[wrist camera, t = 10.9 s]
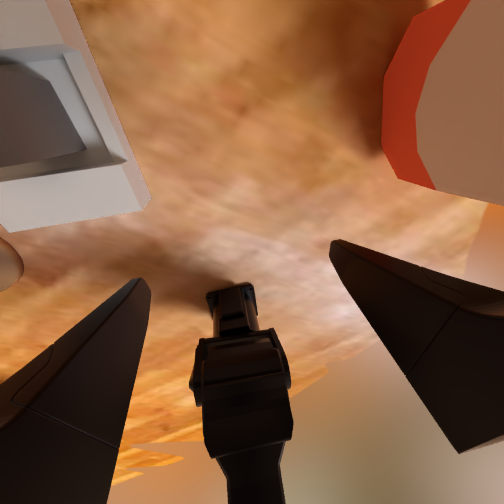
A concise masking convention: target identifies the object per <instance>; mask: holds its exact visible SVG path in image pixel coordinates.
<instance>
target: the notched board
mask: <svg viewBox="0 0 504 504" xmlns="http://www.w3.org/2000/svg"><path fill="white" fill-rule="evenodd" d="M0 69H2V70H6V71H10V72H14V73H19V74H23V75H27V76H31V77H35V78H39V79H43V80H47V81H50V83H51V85H52V86H53V88H54V90H55V92H56V94H57V95H58V97H59V99H60V101H61V103H62V105H63V106H64V108H65V110H66V112H67V114H68V115H69V117H70V119H71V121H72V123H73V124H74V126H75V128H76V130H77V132H78V134H79V135H80V137H81V139H82V141H83V143H84V144H85V146H86V148H87V150H82V151H78V152H74V153H69V154H65V155H61V156H56V157H52V158H48V159H43V160H39V161H35V162H30V163H26V164H20V165H14V166H7V167H1V168H0V224H1V225H2V226H3V227H4V228H5V229H6V230H7V231H8V232H9V233H11V232H17V231H23V230H29V229H35V228H41V227H47V226H53V225H59V224H65V223H71V222H77V221H83V220H89V219H95V218H101V217H107V216H113V215H119V214H125V213H131V212H137V211H142V210H143V209H144V208H145V206H146V205H147V204H148V202H149V201H150V200H151V199H152V198H151V195H150V193H149V191H148V188H147V186H146V183H145V181H144V179H143V176H142V174H141V171H140V169H139V167H138V164H137V162H136V159H135V157H134V155H133V152H132V150H131V147H130V145H129V143H128V140H127V138H126V135H125V133H124V131H123V128H122V126H121V123H120V121H119V119H118V116H117V114H116V111H115V109H114V107H113V104H112V102H111V99H110V97H109V95H108V92H107V90H106V87H105V85H104V83H103V80H102V78H101V75H100V73H99V71H98V68H97V66H96V63H95V61H94V59H93V56H92V54H91V51H90V49H89V47H88V44H87V42H86V39H85V37H84V35H83V32H82V30H81V27H80V25H79V23H78V20H77V18H76V15H75V13H74V11H73V8H72V6H71V3H70V1H69V0H0Z"/></svg>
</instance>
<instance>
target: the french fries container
mask: <svg viewBox="0 0 504 504" xmlns="http://www.w3.org/2000/svg"><path fill="white" fill-rule="evenodd" d="M381 147H382V149H383V151H384V153H385V155H386V157H387V159H388V161H389V162H390V164H391V166H392V168H393V170H394V172H395V174H396V176H397V178H398V179H401V180H404V181H407V182H411V183H414V184H417V185H420V186H424V187H427V188H430V189H433V190H436V191H441V192H445V193H449V194H454V195H458V196H463V197H467V198H471V199H476V200H480V201H485V202H489V203H493V204H498V205H502V206H504V0H445V1H443V2H441V3H439V4H437V5H435V6H433V7H431V8H429V9H427V10H425V11H424V12H422V13H420V14H418V15H416V16H414V17H413V18H412V21H411V23H410V25H409V27H408V29H407V31H406V33H405V35H404V37H403V39H402V41H401V43H400V45H399V47H398V49H397V51H396V53H395V55H394V57H393V59H392V61H391V63H390V65H389V67H388V69H387V71H386V73H385V75H384V82H383V107H382V132H381Z"/></svg>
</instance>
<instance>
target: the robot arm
mask: <svg viewBox="0 0 504 504" xmlns="http://www.w3.org/2000/svg"><path fill="white" fill-rule="evenodd" d="M329 258H330V260H331V262H332V264H333V266H334V268H335V270H336V272H337V274H338V276H339V277H340V279H341V281H342V283H343V285H344V286H345V288H346V289H347V291H348V292H349V294H350V295H351V297H352V298H353V300H354V301H355V302H356V304H357V305H358V307H359V308H360V310H361V311H362V313H363V314H364V316H365V317H366V319H367V320H368V322H369V323H370V325H371V326H372V328H373V329H374V331H375V332H376V333H377V335H378V336H379V338H380V339H381V341H382V342H383V344H384V345H385V347H386V348H387V350H388V351H389V353H390V354H391V356H392V357H393V359H394V360H395V362H396V363H397V365H398V366H399V367H400V369H401V370H402V372H403V373H404V375H406V378H407V379H408V381H409V382H410V384H411V385H412V387H413V388H414V390H415V391H416V393H417V394H418V396H419V397H420V399H421V400H422V402H423V403H424V404H425V406H426V408H427V409H428V411H429V412H430V413H431V415H432V416H433V418H434V419H435V421H436V422H437V424H438V425H439V427H440V428H441V430H442V431H443V433H444V434H445V436H446V437H447V438H448V440H449V442H450V443H451V444H452V446H453V447H454V449H455V450H456V451H457V452H458V454H461V453H465V452H468V451H471V450H475V449H478V448H482V447H485V446H488V445H492V444H495V443H498V442H502V441H504V292H503V291H500V290H496V289H493V288H489V287H486V286H483V285H479V284H476V283H472V282H468V281H465V280H462V279H459V278H455V277H452V276H448V275H445V274H442V273H439V272H436V271H433V270H430V269H427V268H424V267H419V266H418V265H415V264H412V263H409V262H406V261H403V260H400V259H397V258H394V257H391V256H388V255H385V254H383V253H380V252H377V251H374V250H371V249H368V248H365V247H362V246H359V245H356V244H353V243H350V242H347V241H344V240H341V239H338V240H333V241H332V242H331V244H330V251H329ZM209 296H211V297H209ZM206 300H207V302H208V305H209V308H210V311H211V313H212V316H213V338H206V339H205V338H200V339H199V345H197V348H196V351H195V362H194V367H193V370H192V374H191V377H190V380H189V388H190V389H191V390H192V391H193V392H194V397H195V403H196V406H197V407H200V406H202V419H203V436H204V443H205V446H206V448H207V450H208V452H209V455H210V457H211V458H212V459H213V458H216V460H217V462H218V464H219V465H220V467H221V469H222V471H223V473H224V475H225V476H226V479H227V492H228V504H286V503H285V496H284V490H283V484H282V478H281V471H280V462H281V457H282V454H283V450H284V446H285V442H286V441H289V440H291V437H292V431H293V417H292V413H291V408H290V402H289V396H288V390H287V389H290V387H291V376H290V370H289V365H288V361H287V358H286V355H285V352H284V350H283V348H282V346H281V343H280V341H279V339H278V337H277V334H276V332H275V330H274V328H269V329H267V330H259V325H258V321H257V317H256V316H257V315H258V312H257V305H256V298H255V292H254V286H253V285H251V284H249V285H244V286H240V287H235V288H230V289H225V290H220V291H215V292H210V293H207V294H206ZM150 301H151V290H150V288H149V287H148V285H147V283H146V281H145V280H144V279H143V278H142V277H140V278H135V279H132V280H130V281H129V282H128V283H127V284H126V285H124V286H123V287H122V288H121V289H119V290H118V291H117V292H116V293H114V294H113V295H112V296H111V297H110V298H108V299H107V300H106V301H105V302H103V303H102V304H101V305H100V306H98V307H97V308H96V309H95V310H94V311H92V312H91V313H90V314H89V315H87V316H86V317H85V318H84V319H82V320H81V321H80V322H79V323H78V324H76V325H75V326H74V327H73V328H71V329H70V330H69V331H68V332H66V333H65V334H64V335H63V336H62V337H60V338H59V339H58V340H57V341H55V342H54V344H52V345H50V346H49V347H48V348H47V349H45V350H44V351H43V352H42V353H41V354H39V355H38V356H37V357H36V358H34V359H33V360H32V361H30V362H29V363H28V364H27V365H25V366H24V367H23V368H22V369H20V370H19V371H18V372H16V373H15V374H14V375H12V376H11V377H10V378H8V379H7V380H6V381H4V382H3V383H2V384H0V504H106V503H107V500H108V495H109V491H110V487H111V482H112V478H113V474H114V470H115V465H116V461H117V457H118V452H119V447H120V443H121V439H122V434H123V430H124V426H125V421H126V417H127V413H128V408H129V404H130V400H131V396H132V391H133V387H134V383H135V378H136V374H137V370H138V365H139V361H140V357H141V352H142V348H143V344H144V340H145V335H146V331H147V326H148V320H149V311H150Z"/></svg>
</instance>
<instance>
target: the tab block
mask: <svg viewBox="0 0 504 504" xmlns="http://www.w3.org/2000/svg"><path fill="white" fill-rule="evenodd" d="M82 150H87V148H86V146H85V144H84V143H83V141H82V139H81V137H80V135H79V134H78V132H77V130H76V128H75V126H74V124H73V123H72V121H71V119H70V117H69V115H68V114H67V112H66V110H65V108H64V106H63V105H62V103H61V101H60V99H59V97H58V95H57V94H56V92H55V90H54V88H53V86H52V85H51V83H50V81H47V80H43V79H39V78H35V77H31V76H27V75H23V74H19V73H14V72H10V71H6V70H2V69H0V168H1V167H7V166H14V165H20V164H26V163H30V162H35V161H39V160H43V159H48V158H52V157H56V156H61V155H65V154H69V153H74V152H78V151H82Z"/></svg>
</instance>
